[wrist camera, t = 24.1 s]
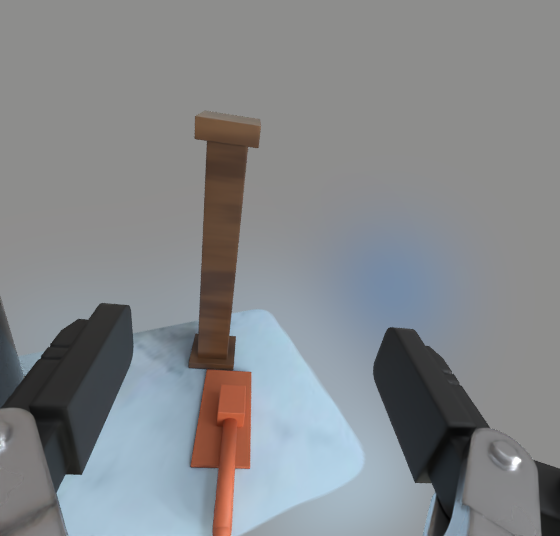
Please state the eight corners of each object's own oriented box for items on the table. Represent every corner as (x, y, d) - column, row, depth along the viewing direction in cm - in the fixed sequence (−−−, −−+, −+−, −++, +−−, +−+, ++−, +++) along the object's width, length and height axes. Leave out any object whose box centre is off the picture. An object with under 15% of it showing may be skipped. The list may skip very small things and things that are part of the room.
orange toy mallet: (238, 547, 29) (241, 532, 28) (202, 547, 28) (203, 532, 27) (243, 399, 42) (245, 385, 41) (219, 397, 42) (220, 384, 41)
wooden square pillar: (232, 372, 46) (260, 126, 31) (188, 369, 45) (195, 115, 31) (235, 340, 52) (260, 119, 37) (195, 337, 51) (204, 110, 36)
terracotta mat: (249, 468, 35) (250, 466, 35) (190, 467, 34) (190, 465, 34) (251, 373, 46) (251, 371, 46) (206, 371, 46) (206, 369, 45)
